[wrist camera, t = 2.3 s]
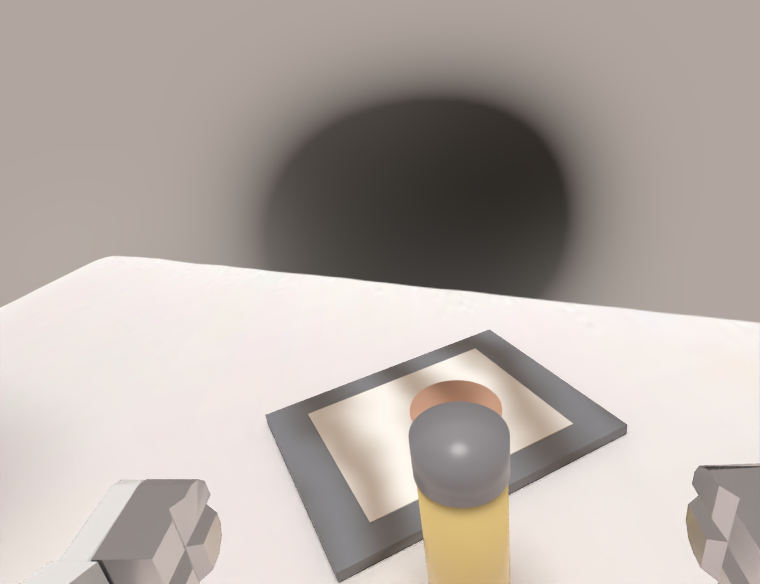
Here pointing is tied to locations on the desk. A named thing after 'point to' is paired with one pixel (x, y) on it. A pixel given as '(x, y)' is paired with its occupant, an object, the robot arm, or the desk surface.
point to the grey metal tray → (391, 442)
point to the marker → (463, 492)
